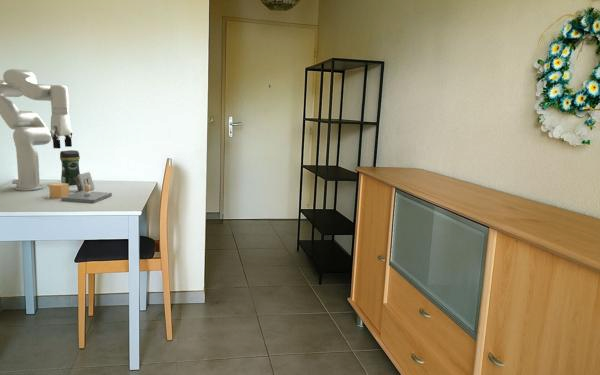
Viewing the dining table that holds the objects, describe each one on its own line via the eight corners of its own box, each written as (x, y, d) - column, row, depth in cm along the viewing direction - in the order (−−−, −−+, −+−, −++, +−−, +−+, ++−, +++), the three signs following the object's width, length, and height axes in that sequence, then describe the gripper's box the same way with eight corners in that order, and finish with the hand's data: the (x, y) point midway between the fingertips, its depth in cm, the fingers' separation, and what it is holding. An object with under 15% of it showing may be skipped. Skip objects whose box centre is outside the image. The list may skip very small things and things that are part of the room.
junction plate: (61, 200, 219) (60, 187, 218) (81, 193, 236) (81, 181, 234) (93, 203, 218) (93, 189, 216) (111, 195, 234) (111, 183, 233)
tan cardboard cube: (49, 197, 225) (49, 184, 224) (57, 194, 231) (56, 182, 229) (61, 198, 224) (61, 185, 223) (68, 195, 230) (68, 183, 229)
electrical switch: (84, 192, 239) (81, 174, 237) (75, 192, 240) (72, 174, 238) (94, 189, 248) (92, 172, 247) (86, 189, 249) (84, 172, 247)
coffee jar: (76, 181, 265) (75, 149, 262) (83, 184, 260) (81, 150, 256) (59, 183, 258) (57, 150, 254) (64, 185, 253) (63, 151, 249)
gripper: (63, 111, 232) (65, 145, 235) (41, 111, 215) (44, 148, 218) (77, 111, 231) (79, 146, 234) (57, 112, 214) (60, 149, 217)
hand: (62, 147), depth 226 cm, fingers open, 9 cm apart
